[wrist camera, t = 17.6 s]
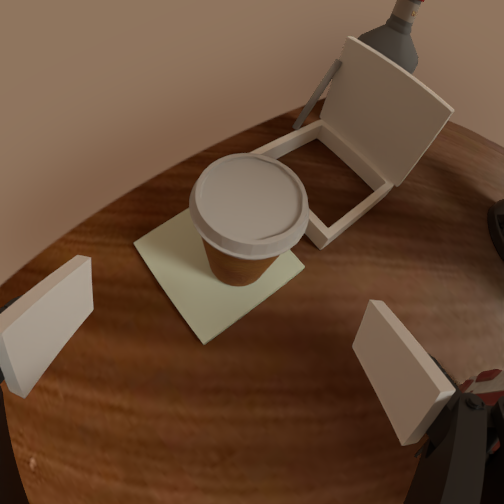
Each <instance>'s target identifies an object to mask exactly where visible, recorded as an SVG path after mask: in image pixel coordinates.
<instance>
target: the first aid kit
mask: <svg viewBox="0 0 504 504" xmlns="http://www.w3.org/2000/svg"><path fill="white" fill-rule="evenodd" d="M458 388H459V389H460V391H461V392H462V393H467V392H469V393H473V394H475V395H477V396H479V397H480V398H481V399H482V400H483V401H484V403H485V404H486V405H488V406H494V405H495V403H496V402H497V400H498V399H499V398H500V397H501V396H504V371H502V370H499V369H494V370H489V371H484V372H481V373H480V374H479V375H478V376H473V377H470V378H469V379H468V380H466V381H465V382H464V383H463V384H461V385H459V386H458ZM499 447H500V442H499V441H498V442H497V443H496V444H495V446H494V447H493V448H492V453H494V452H495V451H496V450H497V449H498V448H499Z"/></svg>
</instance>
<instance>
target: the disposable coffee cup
mask: <svg viewBox="0 0 504 504" xmlns="http://www.w3.org/2000/svg"><path fill="white" fill-rule="evenodd" d="M189 210H190V216H191V218H192V221H193V224H194V227H195V228H196V230H197V231H198V232H199V234H200V235H201V238H202V241H203V245H204V248H205V251H206V255H207V258H208V261H209V265H210V268H211V270H212V272H213V274H214V275H215V276H216V277H217V278H218V279H219V280H220V281H222V282H223V283H225V284H228V285H231V286H236V287H240V286H247V285H249V284H252V283H254V282H255V281H257V280H258V279H259V278H260V277H261V275H262V274H263V273H264V272H265V271H266V270H267V269H268V268H269V267H270V265H271V264H272V263H273V262H274V261H275V260H276V259H277V258H278V257H279V255H280V254H282V253H284V252H286V251H288V250H289V249H290V248H291V247H293V246H294V245H295V244H297V242H298V241H299V240H300V238H301V237H302V235H303V234H304V232H305V231H306V228H307V225H308V222H309V206H308V197H307V194H306V191H305V188H304V185H303V184H302V182H301V180H300V179H299V177H298V176H297V175H296V174H295V173H294V172H293V171H292V170H291V169H290V168H288V167H287V166H285V165H284V164H282V163H281V162H279V161H278V160H276V159H273V158H271V157H268V156H265V155H260V154H254V153H239V154H232V155H228V156H225V157H223V158H220V159H218V160H216V161H215V162H213V163H212V164H210V165H209V166H208V167H207V168H206V169H205V170H204V171H203V173H202V174H201V176H200V177H199V179H198V180H197V181H196V183H195V185H194V186H193V188H192V191H191V195H190V198H189Z"/></svg>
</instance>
